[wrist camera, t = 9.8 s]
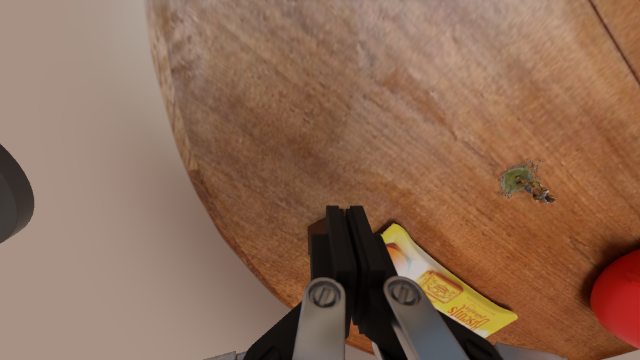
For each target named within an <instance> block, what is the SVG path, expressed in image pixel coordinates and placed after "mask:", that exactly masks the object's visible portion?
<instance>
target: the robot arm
mask: <svg viewBox="0 0 640 360" xmlns="http://www.w3.org/2000/svg"><path fill="white" fill-rule="evenodd" d="M310 268H311V281H310V282H309V283H308V285H307V286H306V288H305V291H304V296H303V301H301V302H300V303H299V304H298V305H297V306H296V307H295V308H293V309H292V310H291V311H290V312H289V313H288V314H287V315H286V316H284V317H283V318H282V319H281V320H280V321H279V322H278V323H277V324H275V325H274V326H273V327H272V328H271V329H270V330H269V331H267V332H266V333H265V334H264V335H263V336H262V337H261V338H260V339H258V340H257V341H256V342H255V343H254V344H253V345H252V346H251V347H250V348H249V349H248V351H246V352H242V353H239V354H236V351H234V352H230V353H227V354H223V355H219V356H216V357H212V358H209V359H205V360H345V340H346V339H347V338H348V336H349V330H350V323H351V316H352V321H353V325H358V329H359V334H365V336H366V337H368V338H369V339H370V340H371V341H372V346H373V350H374V353H375V356H376V358H377V360H568V359H566V358H565V357H563V356H560V355H557V354H554V353H549V352H544V351H539V350H534V349H529V348H524V347H519V346H514V345H509V344H503V343H498V342H496V343H495V344H494V345H492V344H491V343H490V342H488V341H487V340H486V339H484V338H483V337H481V336H480V335H478V334H477V333H475V332H473V331H472V330H470V329H468V328H467V327H465V326H464V325H462V324H460V323H459V322H457V321H455V320H454V319H452V318H450V317H449V316H447V315H446V314H444V313H442V312H441V311H439V310H437V309H436V308H435V307H434V305H433V304H432V302H431V301H430V300H429V298H428V297H427V295H426V294H425V292H424V291H423V289H422V288H421V287H420V286H419V284H417V283H416V282H415V281H413V280H412V279H409V278H407V277H403V276H398V273H397V271H396V268H395V266H394V264H393V261H392V259H391V256H390V254H389V252H388V249H387V247H386V244H385V242H384V240H383V237H382V235H381V234H380V233H372V230H371V227H370V225H369V222H368V219H367V217H366V214H365V211H364V209H363V206H350V209H346V211H345V215H344V211H343V209H339V206H326V221H325V234H311V243H310Z"/></svg>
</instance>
